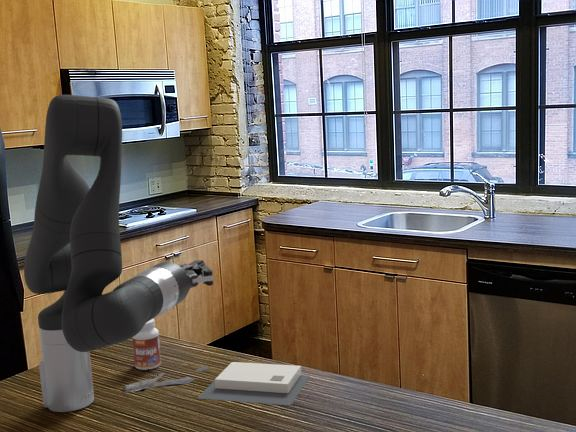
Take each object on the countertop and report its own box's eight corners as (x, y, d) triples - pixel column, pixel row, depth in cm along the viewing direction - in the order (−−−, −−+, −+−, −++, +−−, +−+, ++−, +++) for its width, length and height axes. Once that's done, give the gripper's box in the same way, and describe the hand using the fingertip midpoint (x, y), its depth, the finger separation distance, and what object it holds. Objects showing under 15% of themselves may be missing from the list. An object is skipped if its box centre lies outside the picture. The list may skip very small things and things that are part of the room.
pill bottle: (134, 372, 155) (129, 325, 153) (135, 362, 161) (131, 318, 159) (161, 368, 156) (157, 323, 154) (161, 359, 162) (157, 315, 160)
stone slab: (207, 363, 155) (208, 377, 145) (208, 371, 155) (209, 385, 146) (127, 374, 153) (123, 389, 143) (128, 381, 153) (124, 397, 143)
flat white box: (214, 378, 141) (232, 361, 150) (215, 388, 141) (232, 370, 151) (287, 383, 136) (300, 365, 146) (288, 393, 137) (301, 375, 146)
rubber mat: (197, 401, 137) (196, 398, 137) (224, 373, 151) (224, 370, 151) (290, 408, 131) (290, 405, 131) (310, 378, 146) (310, 375, 146)
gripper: (192, 268, 106) (232, 245, 122) (118, 266, 110) (166, 245, 126) (196, 313, 107) (235, 285, 123) (122, 311, 111) (169, 284, 127)
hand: (200, 265), depth 125 cm, fingers closed
